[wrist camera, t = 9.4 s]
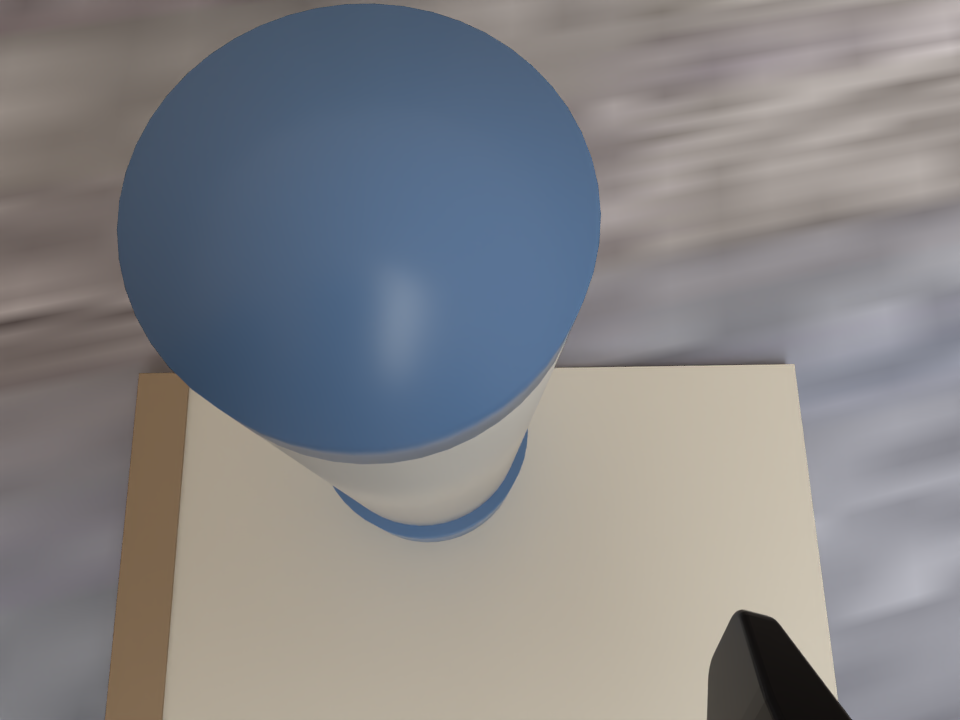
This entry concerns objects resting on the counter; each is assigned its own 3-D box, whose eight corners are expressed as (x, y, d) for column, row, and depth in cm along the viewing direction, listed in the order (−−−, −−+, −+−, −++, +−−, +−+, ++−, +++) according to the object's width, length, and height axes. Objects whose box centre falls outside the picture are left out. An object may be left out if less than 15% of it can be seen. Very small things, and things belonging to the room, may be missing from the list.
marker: (545, 502, 19) (714, 356, 6) (375, 570, 18) (173, 561, 6) (480, 342, 20) (509, -74, 7) (317, 401, 19) (35, 71, 7)
